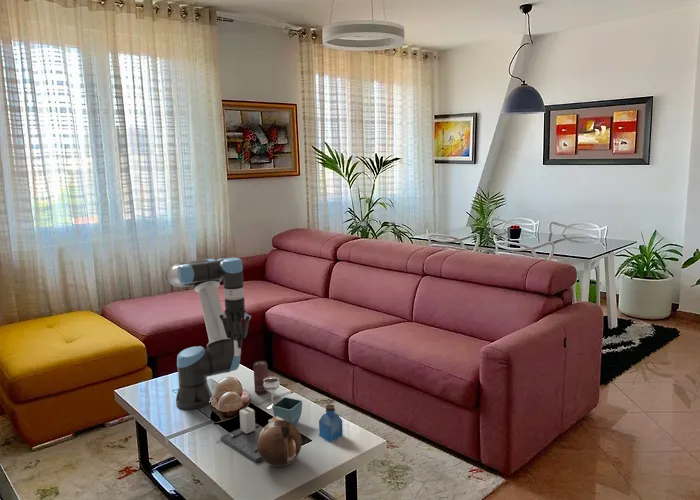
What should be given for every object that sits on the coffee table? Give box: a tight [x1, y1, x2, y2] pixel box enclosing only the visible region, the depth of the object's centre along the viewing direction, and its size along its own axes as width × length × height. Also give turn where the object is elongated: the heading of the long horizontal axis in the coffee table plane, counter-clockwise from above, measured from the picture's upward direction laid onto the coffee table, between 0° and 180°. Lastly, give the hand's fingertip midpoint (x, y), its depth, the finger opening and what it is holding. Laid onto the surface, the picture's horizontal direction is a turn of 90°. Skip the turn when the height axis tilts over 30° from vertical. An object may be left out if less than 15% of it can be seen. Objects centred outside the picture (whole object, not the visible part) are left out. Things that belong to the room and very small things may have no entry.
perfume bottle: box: [318, 404, 344, 443], centre depth 204 cm, size 6×6×12 cm
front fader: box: [267, 416, 284, 424], centre depth 199 cm, size 4×4×8 cm
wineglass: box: [263, 376, 280, 410], centre depth 229 cm, size 7×7×12 cm
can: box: [253, 360, 269, 396], centre depth 243 cm, size 6×6×14 cm
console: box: [220, 422, 264, 464], centre depth 201 cm, size 22×15×2 cm
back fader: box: [239, 406, 256, 434], centre depth 207 cm, size 4×4×8 cm
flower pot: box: [272, 396, 303, 426], centre depth 214 cm, size 9×9×9 cm
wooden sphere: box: [257, 420, 303, 467], centre depth 187 cm, size 15×15×15 cm
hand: (237, 355), depth 217 cm, fingers closed
